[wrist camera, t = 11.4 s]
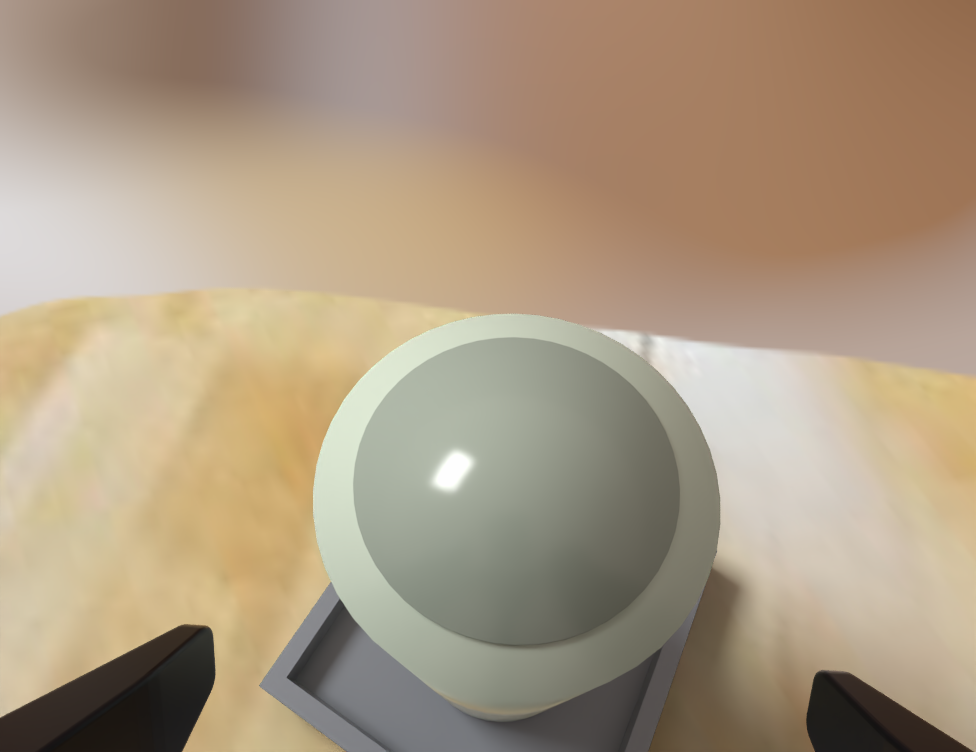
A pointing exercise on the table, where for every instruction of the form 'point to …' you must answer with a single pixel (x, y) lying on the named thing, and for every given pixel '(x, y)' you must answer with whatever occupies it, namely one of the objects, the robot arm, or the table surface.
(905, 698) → the table surface
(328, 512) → the domed cap cylinder
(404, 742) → the tray
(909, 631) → the table surface
